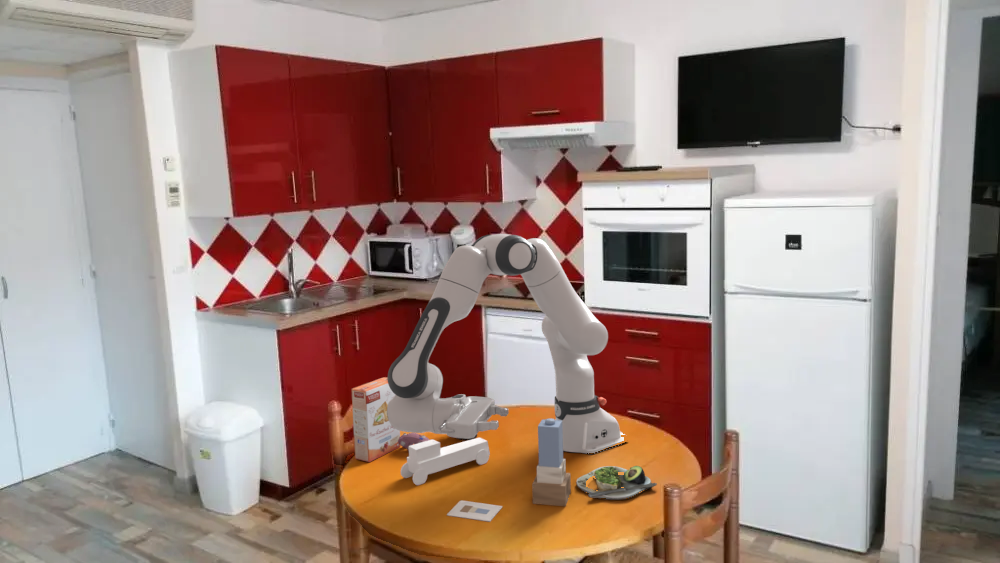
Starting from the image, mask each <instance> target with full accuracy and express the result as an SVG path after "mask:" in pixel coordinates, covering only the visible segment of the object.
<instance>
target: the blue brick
mask: <svg viewBox="0 0 1000 563" xmlns="http://www.w3.org/2000/svg"><path fill="white" fill-rule="evenodd" d="M540 420H541V421H540V422H539V423H538V426H537V437H538V438H537V440H538V463H539V466H546V467H560V465H561V463H562V461H563V459H564V451H563V429H562V420H556V418H555V419H554V418H551V417H550V418H545V419H544V418H543V419H540Z"/></svg>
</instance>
